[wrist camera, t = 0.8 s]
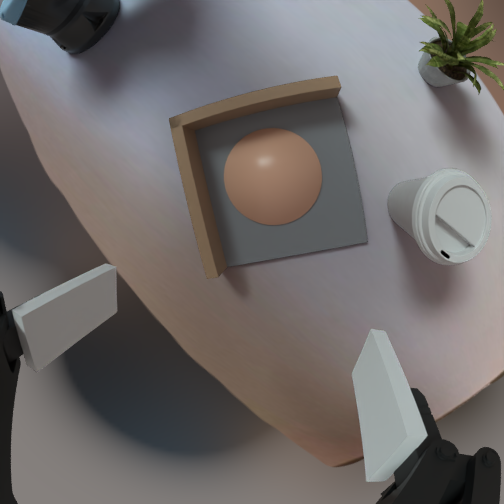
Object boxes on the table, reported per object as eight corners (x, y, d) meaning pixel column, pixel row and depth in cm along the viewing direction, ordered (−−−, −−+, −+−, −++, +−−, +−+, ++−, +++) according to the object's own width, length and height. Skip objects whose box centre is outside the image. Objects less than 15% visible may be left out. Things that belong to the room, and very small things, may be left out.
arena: (184, 124, 36) (168, 118, 32) (333, 88, 32) (337, 75, 27) (217, 267, 41) (206, 279, 36) (366, 241, 36) (375, 249, 31)
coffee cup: (363, 197, 35) (401, 209, 21) (412, 157, 32) (468, 148, 18) (401, 251, 36) (447, 291, 21) (446, 212, 33) (507, 231, 19)
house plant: (395, 14, 26) (426, -44, 10) (468, 54, 25) (520, 19, 9) (381, 80, 30) (423, 28, 14) (460, 122, 29) (527, 104, 13)
